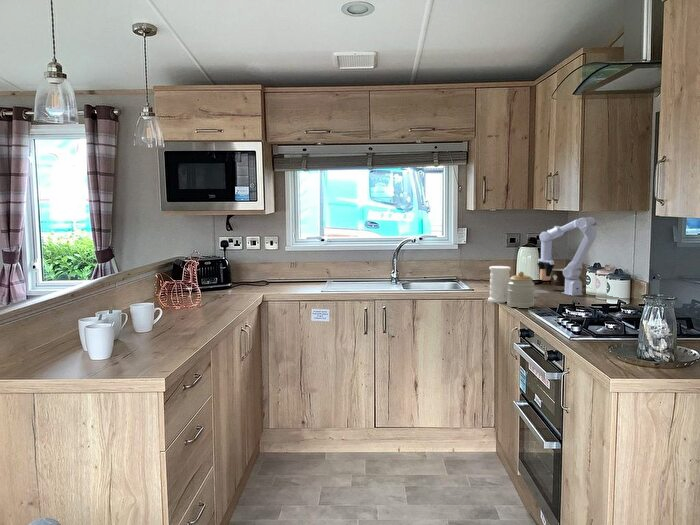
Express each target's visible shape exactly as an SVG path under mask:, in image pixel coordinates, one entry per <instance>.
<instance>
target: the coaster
mask: <svg viewBox="0 0 700 525" xmlns="http://www.w3.org/2000/svg"><path fill="white" fill-rule="evenodd" d="M551 293H552V292H551V291H547V290H544V289H534V295H535V294H536V295H537V294H551Z"/></svg>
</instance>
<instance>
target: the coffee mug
mask: <svg viewBox="0 0 700 525" xmlns="http://www.w3.org/2000/svg"><path fill="white" fill-rule="evenodd" d="M563 270H564V268H553V269H552V272H551V273H552V275H551V278H552V281H553V286H555V287H556V286H558V287H565V277H564V275H563Z"/></svg>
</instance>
